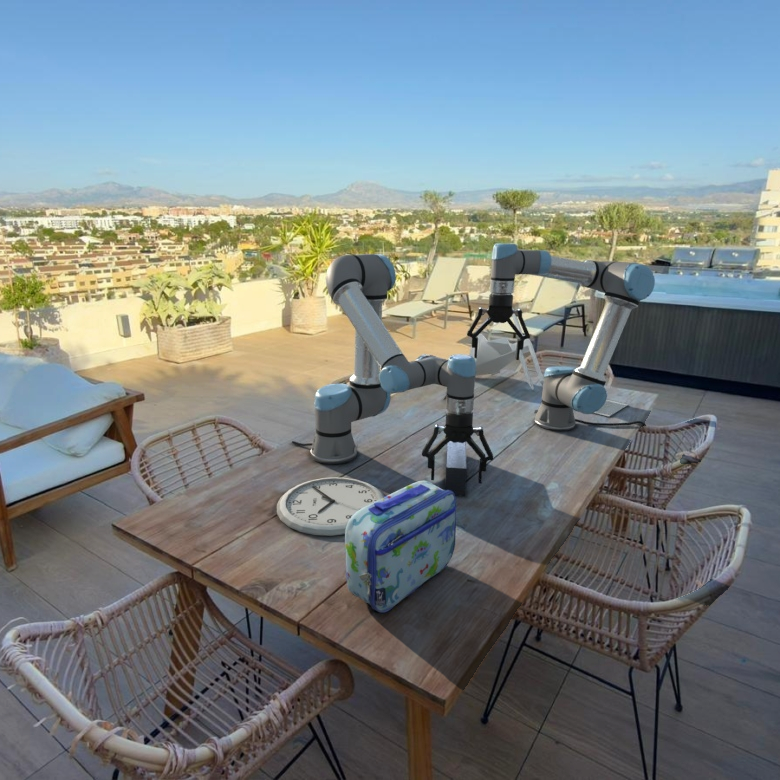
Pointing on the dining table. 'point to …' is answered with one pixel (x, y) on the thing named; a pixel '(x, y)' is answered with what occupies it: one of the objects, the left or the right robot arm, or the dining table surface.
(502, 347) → the white plastic object
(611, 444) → the dining table surface
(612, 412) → the invitation card
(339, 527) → the wall clock
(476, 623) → the dining table surface
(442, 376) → the left robot arm
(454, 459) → the bar
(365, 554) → the lunch box
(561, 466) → the dining table surface
